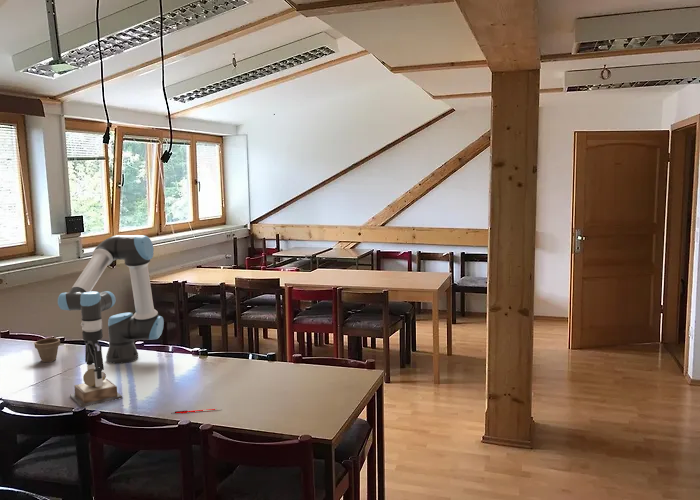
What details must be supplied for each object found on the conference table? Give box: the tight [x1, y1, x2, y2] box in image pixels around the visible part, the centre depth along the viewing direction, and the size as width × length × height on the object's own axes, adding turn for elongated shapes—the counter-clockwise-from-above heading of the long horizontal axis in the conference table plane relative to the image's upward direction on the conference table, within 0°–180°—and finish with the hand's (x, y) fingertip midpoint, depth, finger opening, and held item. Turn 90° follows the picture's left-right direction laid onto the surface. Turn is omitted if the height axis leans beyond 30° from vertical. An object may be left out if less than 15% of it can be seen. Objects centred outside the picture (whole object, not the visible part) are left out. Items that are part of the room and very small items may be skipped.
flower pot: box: [34, 337, 61, 363], centre depth 298 cm, size 12×11×10 cm
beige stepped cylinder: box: [82, 369, 107, 386], centre depth 245 cm, size 8×10×10 cm
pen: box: [171, 408, 216, 415], centre depth 229 cm, size 1×19×1 cm, turn 101°
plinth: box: [69, 378, 123, 408], centre depth 245 cm, size 16×16×5 cm
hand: (95, 382), depth 245 cm, fingers closed on beige stepped cylinder, 9 cm apart
